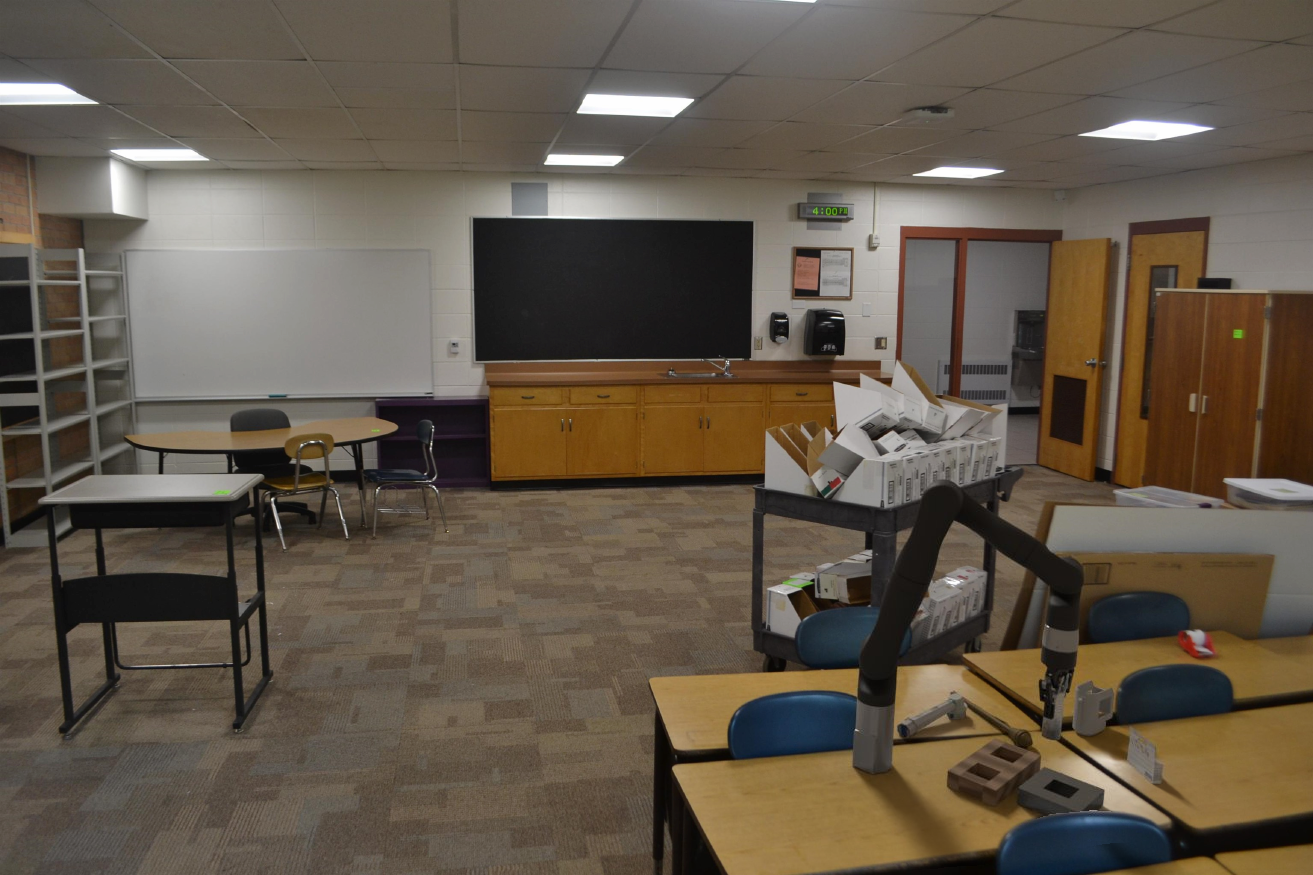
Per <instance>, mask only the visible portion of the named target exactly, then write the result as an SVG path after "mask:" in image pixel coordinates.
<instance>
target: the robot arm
mask: <svg viewBox="0 0 1313 875" xmlns="http://www.w3.org/2000/svg"><path fill="white" fill-rule="evenodd" d="M954 522H956V523H958V524H960V525H963V526H964V527H966V528H968V529H969V530H971V531H973V532H974V534H977V535H978V536H980V537H981V538H982V539H983V540H984V541H985V542H987V543H988V544H989V545H990V546H992V547H993V548H994V549H995V550H996V551H998V552H999V553H1000V554H1002V555H1003V556H1005V557H1007V558H1008V559H1010V560H1011V561H1013V562H1014V563H1016V564H1018V565H1020V566H1021V567H1023V568H1024V569H1027V570H1029V572H1031V573H1032V574H1033V575H1035V576H1036V577H1037V578H1038V579H1039V580H1041V581H1042V582H1043V583H1044V584H1046V585H1047V586H1048V587H1049V589H1048V590H1049V595H1048V601H1047V607H1046V612H1045V613H1046V614H1045V621H1044V622H1045V623H1044V626H1043V627H1044V628H1043V632H1042V638H1041V639H1042V641H1041V642H1042V643H1041V650H1040V651H1041V652H1040V661H1041V663H1042V664H1043V665H1045V667H1046V670H1045V672H1044V676H1043V677H1044V679H1042V678H1040V679H1039V680H1038V692H1039V694H1038V696H1039V701H1040V702H1042V703H1044V705H1043V714H1042V716H1044V717H1045V718H1048V719H1051V720H1052V719H1053V718H1054V713H1055V703H1056V698H1057V695H1059V694H1060V690H1062V691H1064V692H1065V696H1064V699H1065V698H1066V697H1067V694H1069V693H1070V692H1071V687H1072V683H1073V677H1074V673H1075V669H1076V666H1077V660H1078V652H1079V651H1078V650H1079V640H1080V635H1079V634H1080V632H1079V631H1080V630H1079V628H1080V620H1081V605H1080V600H1081V594H1082V588H1083V586H1084V585H1085V570H1084V568H1083V565H1082V563H1080V561H1078V560H1077V559H1076V558H1073V557H1071V556H1062V557H1060V556H1059V555H1057V554H1055V553H1054V552H1052V551H1051V550H1050V549H1049V548H1048V546H1047V544H1045V543H1043V542H1042V541H1041V540H1039V539H1037V538H1035V537H1034V536H1032V535H1031V534H1029V533H1027V532H1025V531H1024V530H1022V529H1021V528H1019V527H1018V526H1015V525H1014V524H1012V523H1010V522H1008V521H1007V520H1005V519H1004V518H1002V517H1000V516H999V515H997V514H995V512H992V511H990V510H989V509H988V508H986V507H985V506H983V505H982V504H981V503H980V502H978V501H977V500H975V499H974V498H973V497H972V496H971V495H969V494H968V493H967V492H966V491H965V490H964V489H963V488H961V487H960V486H959V485H958V484H957V483H955V482H954V481H952V480H950V479H946V478H945V479H943V478H941V479H935V480H934V481H932V482H931V483H929V484H928V485H927V487H926V488H925V489H924V491H923V492H922V494H921V497H920V502H919V505H918V510H917V513H916V517H915V520H914V523H913V527H912V529H911V533H910V535H909V537H908V538H907V540H906V541H905V543H904V545H903V547H902V549H901V550H900V552H899V554H898V556H897V558H896V560H895V563H894V565H893V567H892V570H891V572H890V574H889V577H888V580H887V582H886V585H885V588H884V592H883V595H882V599H881V604H880V606H879V613H878V616H877V619H876V622H875V625H874V627H873V629H872V631H871V633H870V634H868V635H867V636H865V638H864V639H862V642H861V644H860V647H859V652H858V659H857V660H858V664H859V665H858V679H857V680H858V681H857V692H856V693H857V697H856V711H855V712H856V714H855V715H856V717H855V729H854V731H853V746H852V766H853V767H855V768H858V769H860V770H862V771H864V772H867V773H869V774H871V775H875V774H881V773H886V772H888V771H890V770H891V769H892V767H893V752H894V749H893V748H894V729H895V711H896V697H897V682H898V679H897V678H898V665H899V663H898V661H899V658H900V657H899V656H900V654H901V649H902V646H903V643H904V641H905V640H904V639H905V638H906V636H907V632H908V630H909V629H910V627H911V625H912V622H913V621H914V619H915V617H916V615H917V613H918V612H919V609H920V607H921V605H922V603H923V601H924V599H925V597H926V595H927V592H928V589H929V587H930V584H931V582H932V580H933V577H934V574H935V570H936V567H937V563H938V559H939V555H940V550H941V547H942V544H943V542H944V540H945V538H946V536H947V534H948V533H949V531H950V528H951V526H952V525H953V524H954ZM1052 688H1054V689H1056V691H1055V690H1052ZM1052 694H1053V697H1052Z"/></svg>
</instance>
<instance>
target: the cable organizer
mask: <svg viewBox="0 0 1313 875" xmlns="http://www.w3.org/2000/svg"><path fill="white" fill-rule="evenodd" d="M1114 700H1115V692H1114V688H1113V687H1112V686H1111V687H1108V688H1106V689H1104V688H1101V687H1099V686H1095V684H1094V682H1093V680H1092V679H1090V680H1087V681H1084V682H1083V683H1080V684H1078V685H1076V687H1075V692H1074V704H1073V714H1072V715H1073V716H1072V717H1073V718H1072V725H1071V726H1072V728H1073V730H1074V731H1075V732H1076V733H1077V734H1079V735H1081V736H1086V737H1091V736H1092V737H1093V736H1095V735H1097V734H1099V733H1101V732H1103V731H1104V730H1105V729H1106V726H1107V725H1106V724H1107V721H1108V720H1110V719H1112V718H1113V713H1114ZM1099 713H1101V714H1104V715H1102V716H1100V715H1099Z"/></svg>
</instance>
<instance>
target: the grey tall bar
mask: <svg viewBox="0 0 1313 875" xmlns="http://www.w3.org/2000/svg"><path fill="white" fill-rule="evenodd" d="M1052 690H1055V691H1056V689H1054V688H1052ZM1064 696H1065V692H1064V691H1062V690H1060V694H1059V695H1057V698H1056V703H1055V713H1054V718H1053V719H1052V720H1051V719H1048V718H1045V717H1044V716H1043V715H1042V716H1043V717H1042V727H1041V736H1042V738H1045V739H1047V740H1050V741H1059V740H1060V739H1061V733H1062V726H1063V725H1062V724H1063V716H1064V714H1063V713H1064V706H1065V705H1064V704H1065V698H1064ZM1052 697H1053V694H1052Z"/></svg>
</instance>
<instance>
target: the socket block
mask: <svg viewBox="0 0 1313 875" xmlns="http://www.w3.org/2000/svg"><path fill="white" fill-rule="evenodd" d="M1016 797H1017V799H1016V804H1017V805H1019V806H1021V807H1023V808H1026V809H1028V810H1031V811H1033V812H1036V813H1038V814H1041V815H1043V816H1045V815H1049V814H1056V813H1069V812H1080V811H1089V810H1098V811H1099V810H1100V809H1102V807H1104V803H1105V802H1104V801H1105V789H1104V788H1102V787H1098V786H1097V785H1094V784H1091V783H1088V782H1086V781H1083V780H1080V779H1077V778H1075V777H1073V776H1070V775H1067V774H1064V773H1062V772H1060V771H1057V770H1055V769H1051V768H1048V767H1046V766H1044V767H1042V768H1040V771H1039V772H1037V773H1036V774H1035V775H1034V776H1032V777H1031V778H1030V779H1029V780H1027V781H1026V782H1025V783H1024V784H1022V785H1021V786H1020V787H1018V788H1017V796H1016Z"/></svg>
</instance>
